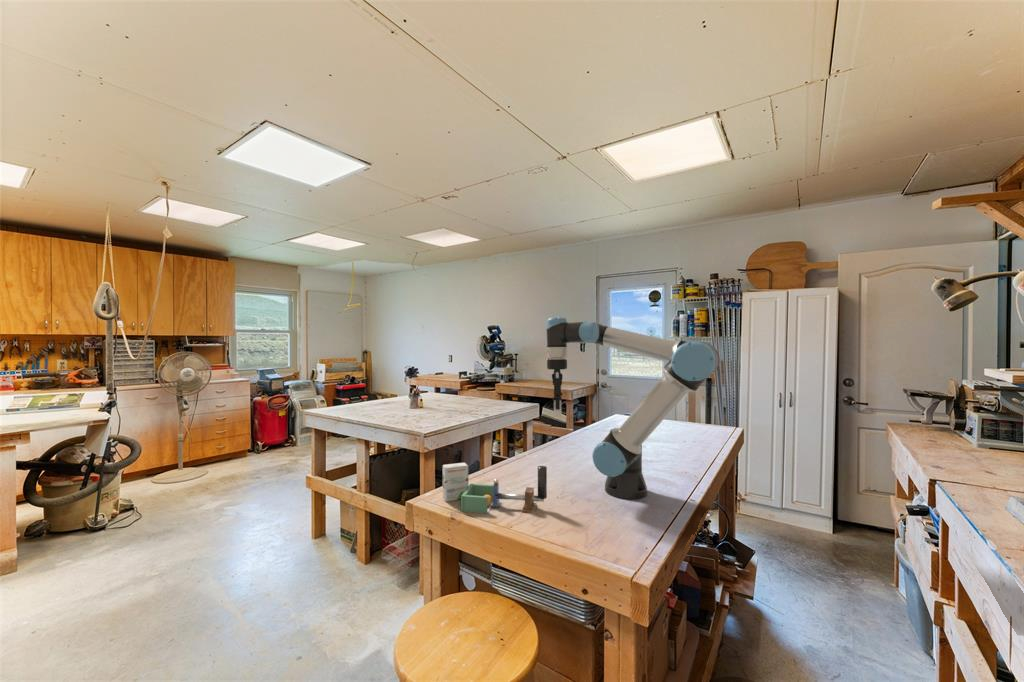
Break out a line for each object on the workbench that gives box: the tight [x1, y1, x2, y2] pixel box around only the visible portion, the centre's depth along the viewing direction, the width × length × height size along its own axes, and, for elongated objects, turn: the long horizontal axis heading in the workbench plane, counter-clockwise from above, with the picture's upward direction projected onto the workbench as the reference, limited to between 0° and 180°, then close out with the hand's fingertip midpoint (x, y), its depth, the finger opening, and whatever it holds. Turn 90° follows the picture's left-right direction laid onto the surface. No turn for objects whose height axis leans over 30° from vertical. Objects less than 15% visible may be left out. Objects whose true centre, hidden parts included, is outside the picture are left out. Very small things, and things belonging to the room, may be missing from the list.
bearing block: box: [521, 486, 537, 514], centre depth 131 cm, size 4×7×6 cm, turn 171°
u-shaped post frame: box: [492, 465, 548, 508], centre depth 132 cm, size 18×3×14 cm, turn 81°
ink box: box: [442, 462, 469, 503], centre depth 140 cm, size 9×5×12 cm, turn 112°
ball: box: [485, 495, 493, 507], centre depth 133 cm, size 4×4×4 cm
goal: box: [460, 483, 494, 514], centre depth 134 cm, size 9×12×5 cm
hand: (557, 415), depth 147 cm, fingers open, 13 cm apart
